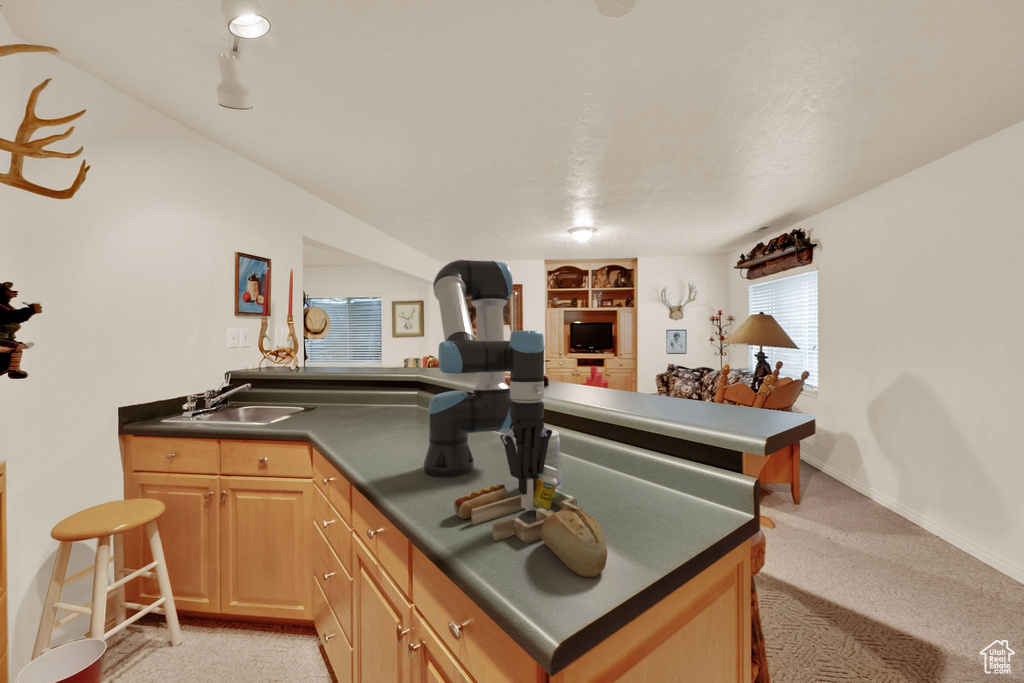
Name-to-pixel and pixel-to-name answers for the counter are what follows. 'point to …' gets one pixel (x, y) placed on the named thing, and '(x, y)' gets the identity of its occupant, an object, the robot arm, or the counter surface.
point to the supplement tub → (554, 455)
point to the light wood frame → (514, 524)
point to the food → (479, 499)
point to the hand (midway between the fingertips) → (527, 507)
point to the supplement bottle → (545, 488)
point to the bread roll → (576, 541)
